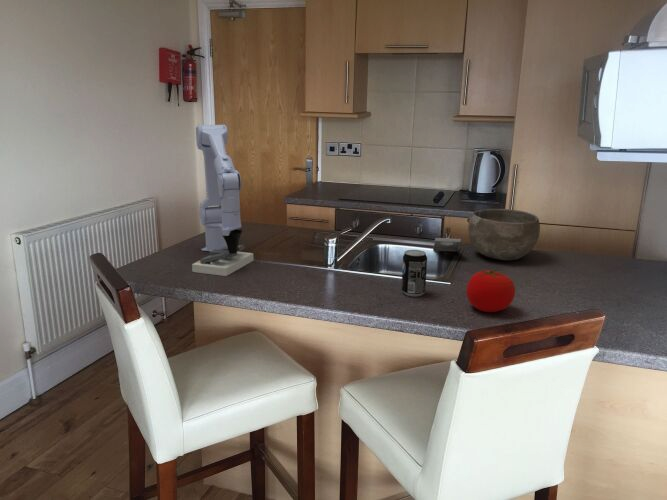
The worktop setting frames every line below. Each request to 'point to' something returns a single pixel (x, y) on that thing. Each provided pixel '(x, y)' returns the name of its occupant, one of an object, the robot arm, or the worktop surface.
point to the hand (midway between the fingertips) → (233, 252)
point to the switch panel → (223, 264)
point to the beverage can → (414, 273)
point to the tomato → (490, 291)
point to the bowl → (503, 233)
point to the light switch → (446, 244)
